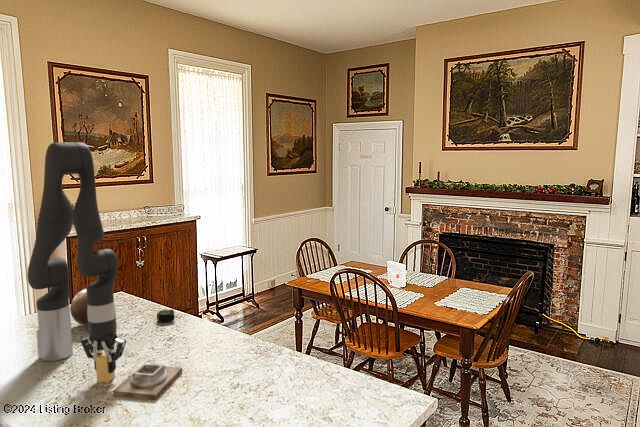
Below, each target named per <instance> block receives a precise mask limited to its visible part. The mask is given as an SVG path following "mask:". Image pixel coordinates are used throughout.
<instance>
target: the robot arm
mask: <svg viewBox="0 0 640 427" xmlns="http://www.w3.org/2000/svg"><path fill="white" fill-rule="evenodd" d="M44 157H45V159H44V160H45V161H44V175H43V176H44V178H43V190H42V196H41V197H42V198H41V203H40V207H39V208H40V209H39V212H38V217H37V218H38V219H37V228H36V235H35V240H34V241H35V242H34V246H33V250H32V253H31V256H30V260H29V264H28V267H27V282H28V285H29V286H30V288H32V289H34V290H44V289H49V288H50V290H49V291H48V292H46V293H44V294H43V295H42V296H40V297H39V298H38V299H37V300H36V312H37V313H36V315H37V322H38V329H37V330H36V333H35V334H36V345H37V352H38V353H37V355H38V359H40V360H42V361H44V362H58V361H62V360H64V359H66V358H68V357H70V356H72V355H73V354H74V350H73V349H74V348H73V347H74V346H73V336H72V325H71V324H72V323H71V311H70V293H71V292H70V271H69V264H68V263H67V261H66V259H64V257H60V256H59V257H58V256H57V257H52V255H53V253H54V252H55V250H56V249H57V248H59V246H60V245H61V244H62V243H63V242H64V241H65V240H66V238H68V237H69V235H70V232H71V231H72V227H73V225H74V229H75V233H76V237H77V257H76V258H77V259H76V260H77V262H76V264H77V265H76V266H77V269H78V272H79V273H80V274H81V275H82V276H84V277H86V278H92V277H95V276H98V277H97V278H96V279H95V281H92V282H91V283H89V284H88V285H87V287H86V289H87V303H88V307H87V316H88V326H87V327H88V330H87V331H88V334H89V336H86V337H85V338H83V339H82V340H80V343H81V345H82V348H83V351H84V353H85V355H86V357H87V358H88V359H92V360H93V361H94V362H93V364H94V365H93V366H94V370H95V371H96V359H95V357H96V356H98V354H100V353H102V352H105V355H107V358H108V361H109V362H108V370H109V373H112V372H114V371H115V370H116V369H117V364H116V363H117V361H118V360H120V358H121V357H122V356H123V353H124V350H125V349H126V348H125V347H126V344H127V340H126V339H123V340H121V339H119V337H118V335H117V327H118V326H117V315H116V314H117V313H116V312H117V311H116V305H115V304H116V303H115V298H114V284H115V281H116V274H117V271H118V266H119V260H118V256H117V254H116V252H115V251H114V250H112V249H110V248H104V249H99V250H94V246H95V244H96V243H99V242H102V240H103V239H104V238H105V231H104V228H103V224H102V220H101V216H100V211H99V207H98V200H97V199H98V198H97V189H96V188H97V187H96V186H97V185H96V178H95V177H96V176H95V166H94V160H93V154H92V152H91V149H90V148H89V146H88V145H87V144H86V143H84V142H79V141H77V142H72V141H70V142H69V141H68V142H67V141H64V142H58V141H57V142H52V143H50V144H49V145H48V146H47V148H46V153H45V156H44ZM65 175H66V176H67V175H78V177H79V183H80V184H79V193H78V196H77V199H76V201H75V205H74V207H73V205H72V203H71V201H70V200H69V198H68V197H67V194H66V193H65V191H64V190H63V179H64V176H65ZM115 372H116V371H115Z"/></svg>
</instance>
